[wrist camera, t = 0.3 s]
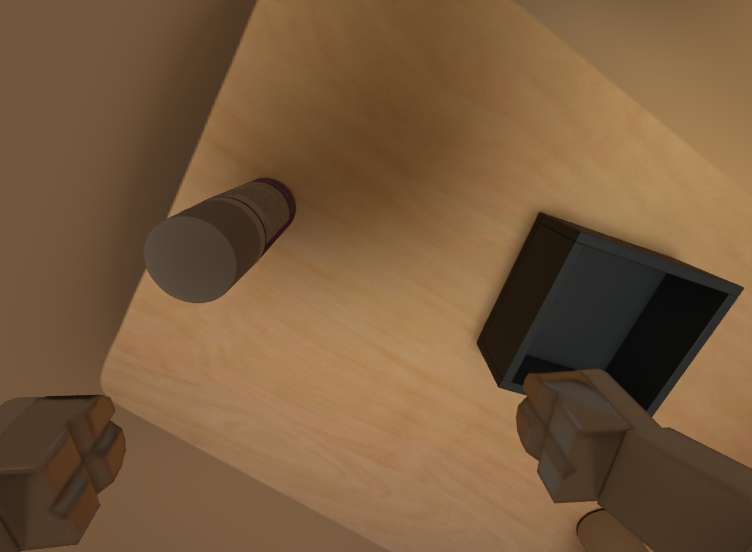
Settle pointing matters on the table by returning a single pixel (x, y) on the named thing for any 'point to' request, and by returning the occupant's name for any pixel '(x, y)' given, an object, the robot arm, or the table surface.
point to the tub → (601, 312)
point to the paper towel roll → (607, 535)
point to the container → (217, 240)
